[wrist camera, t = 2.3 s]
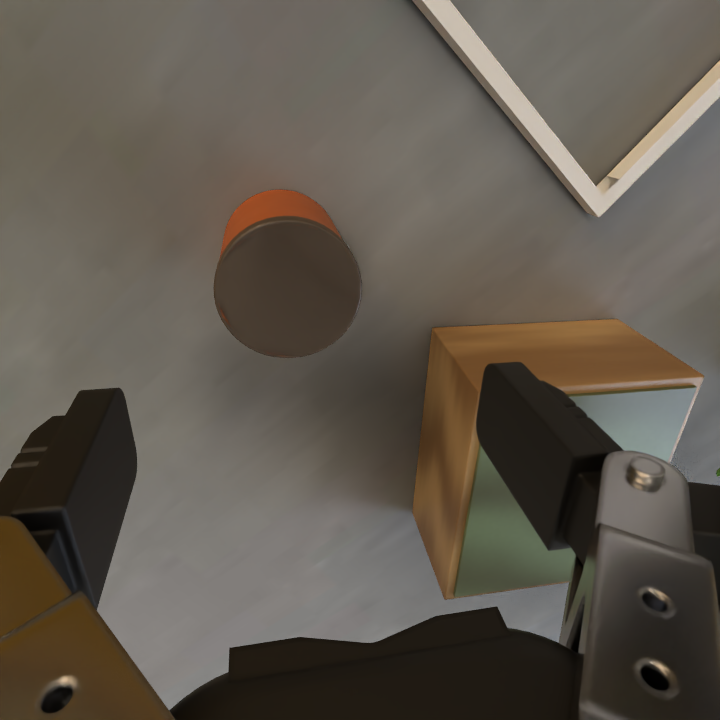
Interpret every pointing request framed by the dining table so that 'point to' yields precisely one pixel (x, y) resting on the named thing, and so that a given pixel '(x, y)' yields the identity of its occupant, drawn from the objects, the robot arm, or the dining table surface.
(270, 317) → the orange tin
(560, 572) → the riser block
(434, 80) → the dining table surface
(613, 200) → the photo frame
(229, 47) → the dining table surface
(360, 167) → the dining table surface
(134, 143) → the dining table surface
